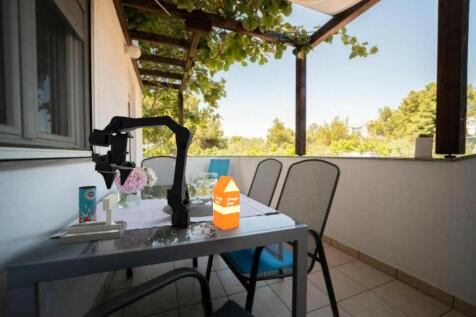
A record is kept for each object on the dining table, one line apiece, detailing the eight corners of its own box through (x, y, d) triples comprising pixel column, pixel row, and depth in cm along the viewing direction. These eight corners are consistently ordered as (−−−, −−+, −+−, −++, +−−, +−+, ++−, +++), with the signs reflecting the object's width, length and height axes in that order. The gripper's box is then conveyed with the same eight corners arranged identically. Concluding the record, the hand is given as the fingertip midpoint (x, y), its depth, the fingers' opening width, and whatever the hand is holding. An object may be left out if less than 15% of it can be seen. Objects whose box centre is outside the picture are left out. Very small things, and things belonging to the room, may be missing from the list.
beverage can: (83, 226, 81) (83, 188, 80) (75, 224, 83) (75, 187, 83) (99, 222, 86) (99, 186, 85) (91, 220, 89) (91, 185, 88)
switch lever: (117, 222, 79) (117, 193, 79) (111, 231, 70) (111, 198, 70) (108, 223, 79) (109, 194, 78) (100, 232, 69) (100, 199, 69)
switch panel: (126, 226, 81) (126, 217, 81) (120, 237, 71) (120, 227, 71) (75, 231, 76) (75, 221, 76) (60, 243, 65) (60, 232, 65)
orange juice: (228, 220, 91) (229, 175, 90) (239, 226, 83) (240, 177, 83) (212, 223, 86) (213, 175, 86) (223, 229, 79) (223, 178, 79)
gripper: (112, 146, 91) (109, 181, 92) (81, 145, 72) (77, 189, 73) (137, 149, 91) (134, 184, 92) (112, 149, 73) (109, 192, 73)
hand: (115, 187), depth 82 cm, fingers open, 9 cm apart
